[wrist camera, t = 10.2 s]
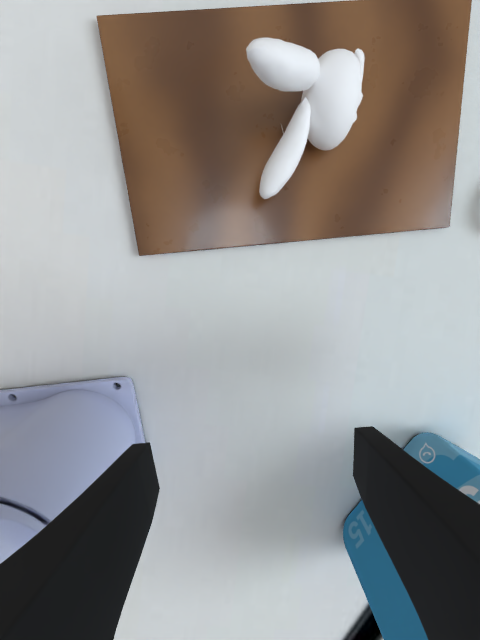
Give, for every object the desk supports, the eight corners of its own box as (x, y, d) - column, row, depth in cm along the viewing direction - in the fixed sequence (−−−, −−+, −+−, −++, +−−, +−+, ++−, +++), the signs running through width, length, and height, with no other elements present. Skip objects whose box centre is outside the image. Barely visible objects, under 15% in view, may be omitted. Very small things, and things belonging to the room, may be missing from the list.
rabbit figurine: (372, 158, 16) (280, 211, 13) (318, 150, 18) (229, 193, 15) (402, 8, 12) (275, 36, 9) (327, 22, 14) (206, 47, 11)
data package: (423, 422, 21) (659, 623, 10) (463, 445, 22) (726, 657, 11) (336, 527, 24) (445, 795, 12) (375, 545, 24) (514, 812, 13)
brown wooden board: (140, 255, 17) (138, 255, 17) (99, 21, 14) (95, 15, 14) (444, 227, 18) (449, 227, 17) (466, -1, 15) (473, -8, 14)
